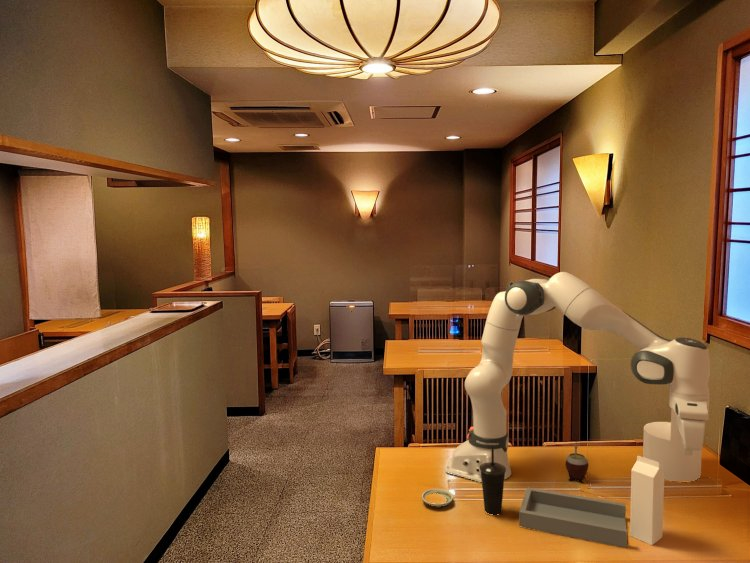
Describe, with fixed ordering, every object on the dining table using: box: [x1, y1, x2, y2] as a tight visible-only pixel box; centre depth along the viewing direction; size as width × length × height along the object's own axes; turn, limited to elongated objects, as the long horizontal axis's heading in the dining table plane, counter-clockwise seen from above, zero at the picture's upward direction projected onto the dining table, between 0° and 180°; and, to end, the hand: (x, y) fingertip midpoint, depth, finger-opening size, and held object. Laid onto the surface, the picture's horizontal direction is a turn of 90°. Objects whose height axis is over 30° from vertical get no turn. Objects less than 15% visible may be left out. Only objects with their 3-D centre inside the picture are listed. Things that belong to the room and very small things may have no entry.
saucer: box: [421, 488, 454, 508], centre depth 165 cm, size 10×10×2 cm
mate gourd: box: [565, 442, 589, 485], centre depth 176 cm, size 8×8×15 cm
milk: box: [629, 455, 665, 546], centre depth 143 cm, size 6×6×22 cm
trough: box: [518, 486, 628, 549], centre depth 152 cm, size 28×15×4 cm, turn 66°
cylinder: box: [642, 407, 703, 482], centre depth 180 cm, size 17×17×28 cm
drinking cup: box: [480, 447, 506, 516], centre depth 158 cm, size 8×8×20 cm
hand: (687, 453), depth 138 cm, fingers closed
